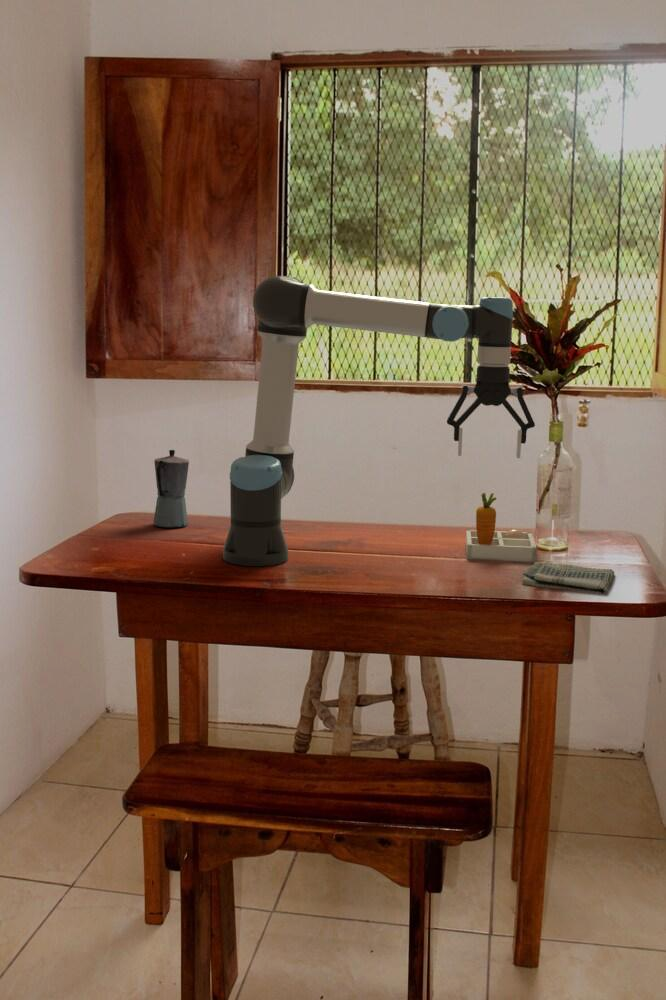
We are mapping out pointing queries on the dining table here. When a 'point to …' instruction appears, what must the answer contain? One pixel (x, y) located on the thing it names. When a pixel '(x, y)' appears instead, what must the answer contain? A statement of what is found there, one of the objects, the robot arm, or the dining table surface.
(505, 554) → the carton
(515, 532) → the brown egg right
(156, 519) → the moka pot
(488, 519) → the carrot
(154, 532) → the dining table surface
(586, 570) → the dish towel
